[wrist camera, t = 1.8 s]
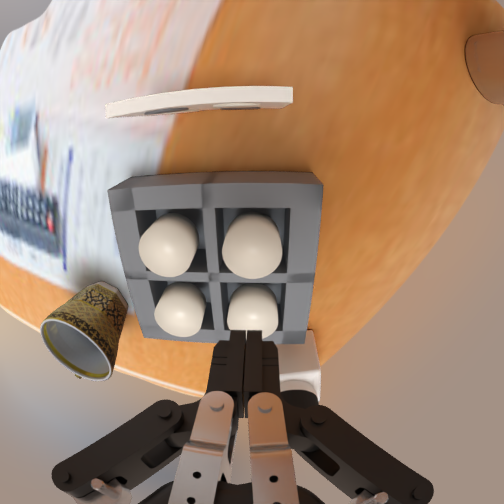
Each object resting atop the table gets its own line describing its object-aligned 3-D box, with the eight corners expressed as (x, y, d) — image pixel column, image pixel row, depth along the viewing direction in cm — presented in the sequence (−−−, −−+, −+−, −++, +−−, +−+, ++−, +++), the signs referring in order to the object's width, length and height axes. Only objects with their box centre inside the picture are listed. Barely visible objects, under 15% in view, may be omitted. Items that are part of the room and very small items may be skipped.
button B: (277, 283, 26) (279, 302, 23) (275, 319, 28) (277, 340, 25) (229, 282, 26) (225, 302, 23) (231, 319, 28) (228, 339, 26)
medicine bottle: (257, 335, 35) (256, 415, 24) (312, 328, 34) (327, 407, 23) (265, 368, 38) (265, 440, 27) (313, 362, 37) (324, 434, 26)
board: (312, 172, 25) (323, 184, 21) (299, 314, 33) (304, 343, 28) (130, 177, 25) (107, 190, 21) (156, 310, 33) (144, 337, 29)
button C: (197, 212, 23) (188, 225, 20) (201, 260, 25) (195, 277, 22) (147, 213, 23) (134, 226, 20) (155, 259, 25) (144, 276, 22)
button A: (280, 212, 23) (283, 225, 20) (278, 260, 25) (280, 279, 22) (225, 212, 23) (220, 225, 20) (227, 260, 25) (223, 278, 22)
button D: (204, 282, 26) (198, 301, 23) (208, 318, 28) (204, 338, 26) (159, 280, 26) (149, 298, 24) (167, 316, 28) (159, 335, 26)
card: (281, 98, 22) (292, 86, 14) (281, 110, 22) (292, 104, 14) (152, 105, 22) (105, 104, 14) (153, 117, 23) (106, 120, 15)
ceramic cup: (80, 257, 30) (36, 303, 21) (146, 290, 32) (115, 348, 23) (76, 322, 36) (46, 367, 27) (130, 350, 37) (108, 401, 28)
